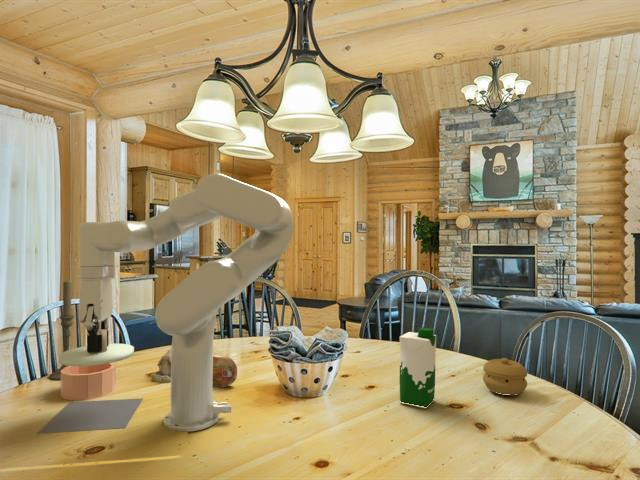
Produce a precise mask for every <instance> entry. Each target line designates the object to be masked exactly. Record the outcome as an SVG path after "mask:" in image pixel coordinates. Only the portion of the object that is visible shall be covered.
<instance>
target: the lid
mask: <svg viewBox="0 0 640 480" xmlns="http://www.w3.org/2000/svg"><path fill="white" fill-rule="evenodd" d="M101 334H102V351H101V352H87V345H85V346H80V347H79V346H78V347H75V348H72V349H69V350H68V351H65V352H63V351H62V352H61V353H60V354H59V355H58V363H59V364H60V365H61V366H62V365H66V366H94V365H102V364H108V363H116V362H120V361H123V360H126V359H129V358H130V357H132V356H133V355H134V354H135V346H133V345H131V344H127V343H109V345H108V346H107V330H106V329H101Z"/></svg>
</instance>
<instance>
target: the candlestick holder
mask: <svg viewBox="0 0 640 480" xmlns="http://www.w3.org/2000/svg"><path fill="white" fill-rule="evenodd" d="M62 285H63V286H62V315H61V316H59V319H60V320H61V322H60V326H61V327H63V332H62V337H63V351H62V353H63V352H65V351H68V350H70V345H71V344H70V342H71V341H70V337H71V336H72V335H71V329H70V327H71V326H73V324H74V322H73V319H74V318H75V316H74V314H73V315H72V281H71V280H69V281H68V279H65V281H63V284H62ZM65 367H67V366H66V365H62V364H61V366H60V368H57V369H56V370H54V371H53V372H52V373H50V374H49V376H48V378H49V380H51V381H61V370H63V369H64V368H65Z"/></svg>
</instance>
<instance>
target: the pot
mask: <svg viewBox="0 0 640 480" xmlns="http://www.w3.org/2000/svg"><path fill="white" fill-rule="evenodd" d="M482 369H483V372H484V374H483V376H482V380H483V382H484V384H485V386H486V388H487V389H488V390H489V391H490V392H492V391H493V393H494V392H497V393H501V394H510V395H515V394H519V395H521V394H522V393H524V391H525V390H526V389H527V387H528V380H526V377H527V376H528V371H527V369H526V367H525V366H523V365H522V364H521V363H520V362H518V361H515V360H511V359H508V358H507V357H502V358H494V359H490V360H487V362H485V364H483V368H482ZM520 393H521V394H520Z"/></svg>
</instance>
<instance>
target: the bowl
mask: <svg viewBox="0 0 640 480" xmlns="http://www.w3.org/2000/svg"><path fill="white" fill-rule="evenodd" d="M116 377H117V365H116V363H115V362H113V363H108V364H102V365H94V366H67V367H65V368H64V369H63V370H61V380H60V396H61V398H62V399H64V400H69V401H84V400H85V401H86V400H87V401H88V400H92V399H96V398H102V397H103V396H106V395H108V394H112V393H113V392H114V391H115V389H116V388H117V386H116V383H117V378H116Z"/></svg>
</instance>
